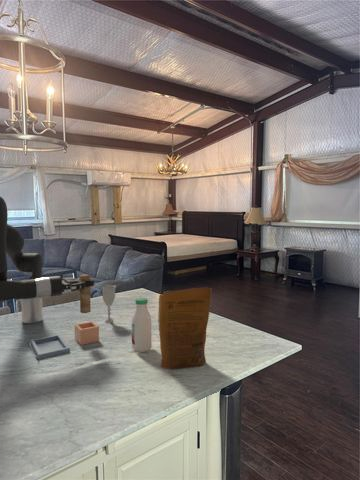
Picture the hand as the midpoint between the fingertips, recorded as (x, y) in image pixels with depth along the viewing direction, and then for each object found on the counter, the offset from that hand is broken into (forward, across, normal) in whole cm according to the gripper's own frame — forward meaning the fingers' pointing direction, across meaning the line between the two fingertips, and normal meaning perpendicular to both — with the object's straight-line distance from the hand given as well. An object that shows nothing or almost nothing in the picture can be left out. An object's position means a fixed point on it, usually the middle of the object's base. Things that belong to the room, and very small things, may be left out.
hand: (91, 281), depth 134 cm
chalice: (+14, +16, +25) cm, 33 cm away
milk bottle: (+14, -18, +25) cm, 34 cm away
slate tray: (-17, 0, +25) cm, 30 cm away
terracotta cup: (-2, 0, +25) cm, 25 cm away
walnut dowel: (-3, 0, +12) cm, 12 cm away
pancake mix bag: (+20, -39, +25) cm, 50 cm away
